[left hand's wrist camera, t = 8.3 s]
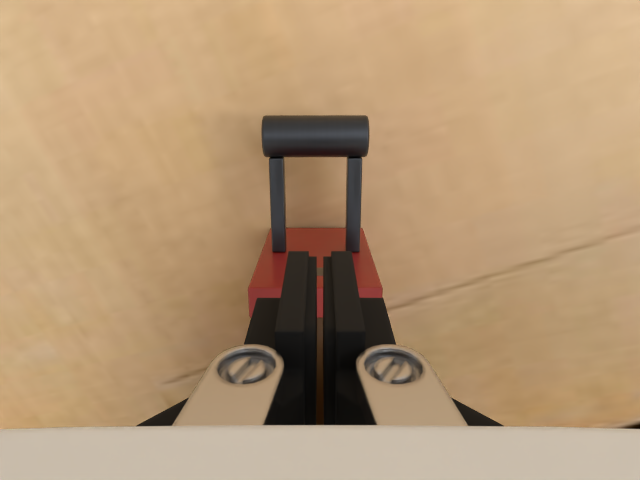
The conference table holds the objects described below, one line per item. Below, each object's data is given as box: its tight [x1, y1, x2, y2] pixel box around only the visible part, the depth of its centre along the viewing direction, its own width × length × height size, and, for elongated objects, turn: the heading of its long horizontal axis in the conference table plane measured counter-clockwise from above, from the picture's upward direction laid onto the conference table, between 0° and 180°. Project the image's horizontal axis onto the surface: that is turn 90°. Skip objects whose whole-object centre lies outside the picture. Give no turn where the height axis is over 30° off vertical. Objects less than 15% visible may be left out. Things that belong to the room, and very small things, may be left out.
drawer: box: [248, 116, 383, 425], centre depth 21 cm, size 20×5×8 cm, turn 0°
